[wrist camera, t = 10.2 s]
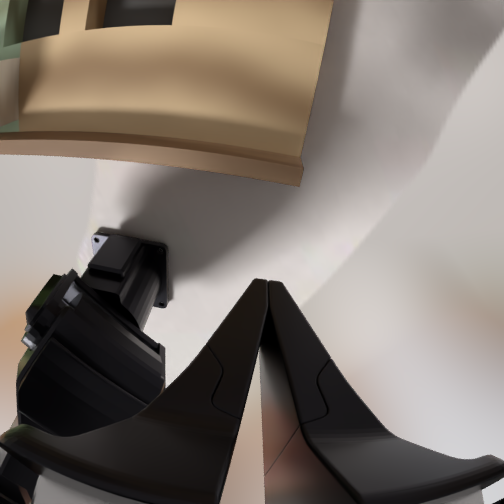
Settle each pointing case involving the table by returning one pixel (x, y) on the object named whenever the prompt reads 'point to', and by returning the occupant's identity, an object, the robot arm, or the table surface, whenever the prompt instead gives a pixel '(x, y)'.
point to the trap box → (166, 81)
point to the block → (9, 90)
